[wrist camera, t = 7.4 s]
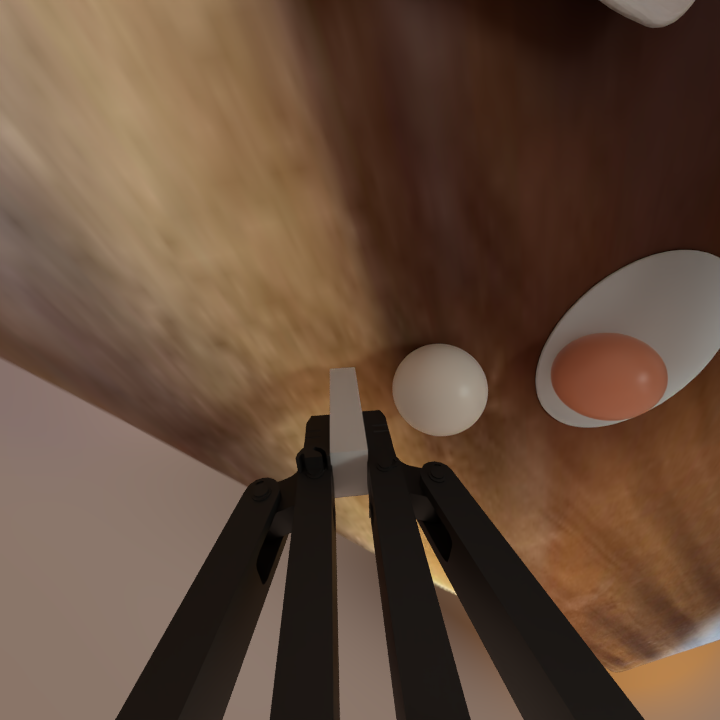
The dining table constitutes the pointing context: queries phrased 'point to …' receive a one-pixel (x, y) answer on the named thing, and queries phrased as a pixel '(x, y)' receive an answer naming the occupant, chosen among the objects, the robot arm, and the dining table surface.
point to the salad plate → (650, 10)
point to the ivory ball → (440, 389)
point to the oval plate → (644, 321)
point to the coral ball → (609, 376)
